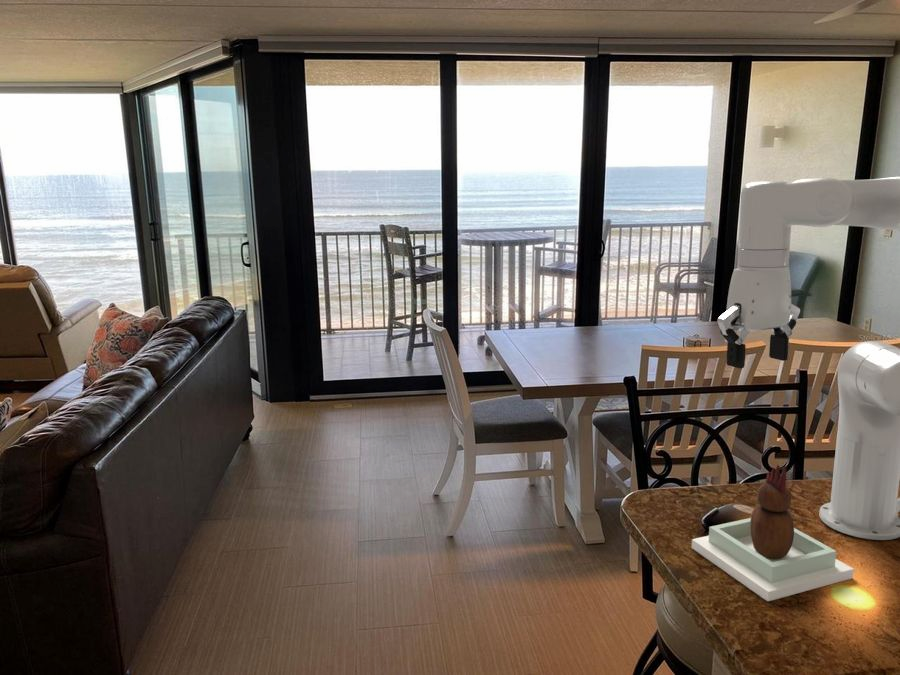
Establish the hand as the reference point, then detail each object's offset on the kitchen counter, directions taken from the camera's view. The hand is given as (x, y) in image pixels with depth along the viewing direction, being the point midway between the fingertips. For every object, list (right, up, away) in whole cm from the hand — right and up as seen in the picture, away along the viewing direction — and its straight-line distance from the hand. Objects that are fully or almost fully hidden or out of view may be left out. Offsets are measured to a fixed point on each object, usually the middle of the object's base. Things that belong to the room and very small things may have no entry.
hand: (757, 362), depth 112 cm
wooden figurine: (-2, -29, -8) cm, 30 cm away
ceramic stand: (-2, -31, -8) cm, 32 cm away
